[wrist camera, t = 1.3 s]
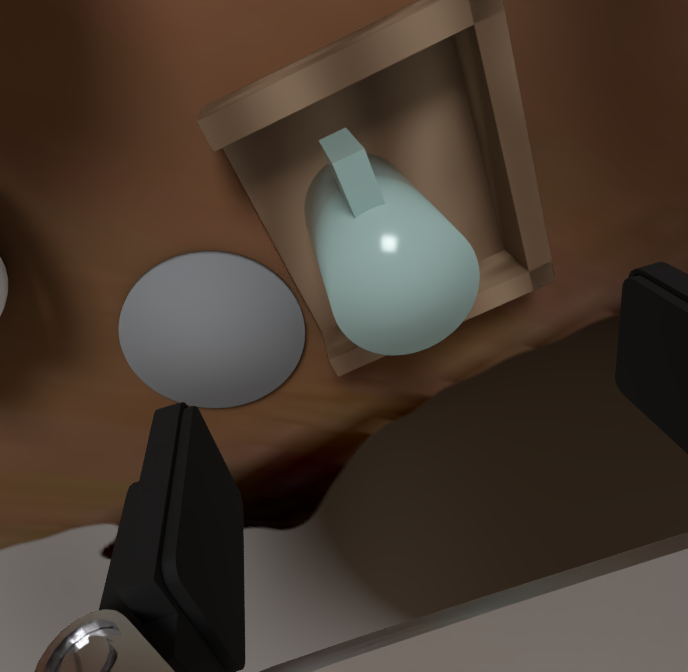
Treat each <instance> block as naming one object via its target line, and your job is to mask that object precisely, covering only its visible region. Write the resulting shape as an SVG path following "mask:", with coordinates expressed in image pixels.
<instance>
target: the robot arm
mask: <svg viewBox="0 0 688 672" xmlns="http://www.w3.org/2000/svg"><path fill="white" fill-rule="evenodd" d="M615 380H616V384H617V386H618V388H619V390H620V391H621V393H623V395H625V396H626V397H627V398H628V399H629V400H630V401H631V402H632V403H633V404H634V405H635V406H636V407H638V409H640V410H641V411H642V412H643V413H644V414H645V415H646V416H647V417H648V418H649V419H650V420H652V421H653V422H654V423H655V424H656V425H657V426H658V427H659V428H660V429H661V430H662V431H663V432H664V433H666V434H667V435H668V436H669V437H670V438H671V439H672V440H673V441H674V442H675V443H676V444H678V445H679V446H680V447H681V448H682V449H683V450H684V451H685V452H686V453H687V454H688V274H686V273H684V272H682V271H680V270H678V269H676V268H675V267H673V266H671V265H669V264H667V263H664V262H658V263H654V264H651V265H647V266H644V267H641V268H637V269H634V270H633V271H631V273H630V274H629V277H628V278H627V279H626V280H625V281H624V283H623V287H622V299H621V312H620V325H619V337H618V349H617V362H616V373H615ZM244 665H245V607H244V538H243V503H242V498H241V495H240V492H239V490H238V488H237V486H236V484H235V482H234V480H233V478H232V476H231V474H230V472H229V469H228V467H227V465H226V463H225V461H224V459H223V457H222V455H221V453H220V451H219V449H218V447H217V445H216V443H215V441H214V439H213V437H212V435H211V433H210V431H209V429H208V427H207V425H206V423H205V421H204V419H203V417H202V415H201V413H200V411H199V409H198V408H197V407H196V406H192V407H188V406H187V404H186V403H185V402H181V403H177V404H174V405H170V406H167V407H164V408H160V409H157V410H156V411H155V413H154V417H153V421H152V426H151V430H150V435H149V440H148V444H147V449H146V453H145V458H144V462H143V467H142V472H141V476H140V481H139V482H135V483H133V484H132V485H131V486H130V487H129V489H128V492H127V495H126V499H125V503H124V508H123V512H122V516H121V520H120V524H119V528H118V533H117V537H116V541H115V545H114V549H113V553H112V558H111V562H110V566H109V570H108V574H107V578H106V583H105V587H104V591H103V595H102V599H101V604H100V608H99V611H95V612H91V613H89V614H87V615H85V616H83V617H81V618H79V619H77V620H75V621H74V622H73V623H71V624H70V625H69V626H68V627H66V628H65V629H64V630H63V631H61V632H60V634H59V635H58V636H57V637H56V638H55V639H54V640H53V641H52V642H51V643H50V645H49V646H48V647H47V649H46V651H45V652H44V654H43V655H42V657H41V658H40V660H39V662H38V664H37V667H36V669H35V672H236V671H239V670H242V669H243V668H244ZM260 672H688V533H684V534H682V535H678V536H675V537H672V538H668V539H665V540H662V541H659V542H656V543H652V544H649V545H646V546H643V547H640V548H636V549H633V550H630V551H627V552H624V553H621V554H617V555H614V556H611V557H608V558H605V559H602V560H598V561H595V562H592V563H589V564H586V565H582V566H579V567H576V568H573V569H570V570H567V571H564V572H561V573H557V574H554V575H551V576H548V577H545V578H542V579H538V580H535V581H532V582H529V583H526V584H523V585H519V586H516V587H513V588H510V589H507V590H504V591H501V592H497V593H494V594H491V595H488V596H485V597H482V598H479V599H476V600H472V601H469V602H466V603H463V604H460V605H457V606H454V607H451V608H448V609H445V610H441V611H438V612H435V613H432V614H429V615H426V616H423V617H420V618H417V619H413V620H411V621H407V622H404V623H401V624H398V625H395V626H392V627H389V628H385V629H382V630H380V631H376V632H373V633H370V634H367V635H364V636H361V637H358V638H355V639H352V640H349V641H346V642H343V643H340V644H337V645H334V646H331V647H328V648H326V649H323V650H320V651H317V652H314V653H311V654H308V655H305V656H302V657H299V658H297V659H293V660H290V661H287V662H285V663H282V664H279V665H276V666H273V667H270V668H268V669H265V670H262V671H260Z"/></svg>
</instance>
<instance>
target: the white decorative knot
mask: <svg viewBox="0 0 688 672" xmlns="http://www.w3.org/2000/svg"><path fill="white" fill-rule="evenodd" d="M7 295H8V277H7V272H6V268H5V265H4V263H3V261H2V259H1V257H0V316H1V314H2V311H3V309H4V307H5V303H6V299H7Z"/></svg>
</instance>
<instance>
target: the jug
mask: <svg viewBox="0 0 688 672" xmlns="http://www.w3.org/2000/svg"><path fill="white" fill-rule="evenodd" d="M319 143H320V145H321V147H322V150H323V152H324V154H325V157H326V159H327V161H328V164H327V165H326V166H324V167H323V168H322V169H321V170H320V171H319V172H318V173H317V175H316V176H315V177H314V179H313V180H312V182H311V184H310V186H309V188H308V190H307V194H306V197H305V203H304V215H305V221H306V225H307V228H308V232H309V235H310V238H311V242H312V245H313V248H314V252H315V255H316V258H317V262H318V265H319V268H320V272H321V275H322V278H323V282H324V285H325V288H326V292H327V295H328V298H329V302H330V305H331V308H332V312H333V315H334V318H335V320H336V322H337V324H338V326H339V328H340V329H341V331H342V332H343V333H344V334H345V335H346V337H347V338H349V339H350V340H351V341H352V342H353V343H355V344H356V345H358V346H359V347H361V348H363V349H365V350H368V351H371V352H374V353H378V354H383V355H405V354H411V353H415V352H419V351H422V350H424V349H427V348H429V347H431V346H433V345H435V344H437V343H439V342H440V341H442V340H443V339H445V338H446V337H447V336H449V335H450V334H451V333H452V332H453V331H454V330H456V329H457V328H458V327H459V325H460V324H461V323H462V322H463V321H464V319H465V318H466V316H467V315H468V313H469V312H470V310H471V308H472V306H473V304H474V302H475V299H476V296H477V293H478V288H479V280H480V273H479V265H478V260H477V257H476V255H475V252H474V250H473V248H472V247H471V245H470V243H469V242H468V241H467V240H466V238H465V237H464V236H463V235H462V234H461V233H460V232H459V231H458V230H457V229H456V228H455V227H454V226H453V225H452V224H451V223H450V222H449V221H448V220H447V219H446V218H445V217H444V216H443V215H442V214H441V213H440V212H439V211H438V210H437V209H436V208H435V207H434V206H433V205H432V204H431V203H430V202H429V201H428V199H427V198H426V197H425V196H424V195H423V194H422V193H421V192H420V191H419V190H418V189H417V188H416V187H415V186H414V185H413V184H412V183H411V182H410V181H409V180H408V179H407V178H406V177H405V176H404V175H403V174H402V173H401V172H400V171H399V170H398V169H397V168H396V167H395V166H394V165H393V164H392V163H390V162H389V161H387V160H386V159H384V158H382V157H380V156H377V155H373V154H368V153H366V151H365V149H364V147H363V146H362V145H361V144H360V143H359V142H358V141H357V140H356V138H355V137H354V136H353V135H352V134H351V133H350V132H349V131H348V129H347V128H346V127H345V128H343V129H341V130H339V131H337V132H335V133H333V134H331V135H329V136H327V137H325V138H323V139H321V140H319Z"/></svg>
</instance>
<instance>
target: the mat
mask: <svg viewBox="0 0 688 672" xmlns="http://www.w3.org/2000/svg"><path fill="white" fill-rule="evenodd" d="M119 339H120V344H121V348H122V351H123V353H124V356H125V358H126V360H127V362H128V364H129V365H130V367H131V368H132V370H133V371H134V372H135V374H136V375H137V376H138V377H139V378H140V379H141V380H142V381H143V382H144V383H145V384H147V385H148V386H149V387H150V388H152V389H153V390H155V391H156V392H158V393H159V394H161V395H163V396H165V397H167V398H169V399H171V400H174V401H177V402H179V403H181V402H185V403H186V404H187V405H190V406H196V407H203V408H227V407H233V406H239V405H243V404H246V403H249V402H252V401H255V400H257V399H259V398H261V397H263V396H265V395H267V394H269V393H270V392H272V391H273V390H275V389H276V388H277V387H279V386H280V385H281V384H282V383H283V382H284V381H285V380H286V379H287V378H288V377H289V376H290V375H291V373H292V372H293V370H294V369H295V367H296V366H297V364H298V362H299V360H300V357H301V354H302V352H303V348H304V342H305V325H304V319H303V314H302V311H301V307H300V305H299V303H298V301H297V298H296V296H295V295H294V293H293V292H292V290H291V289H290V287H289V286H288V285H287V284H286V283H285V282H284V280H283V279H282V278H280V277H279V276H278V275H277V274H276V273H275V272H273V271H272V270H271V269H269V268H268V267H266V266H265V265H263V264H261V263H259V262H257V261H255V260H253V259H250V258H247V257H245V256H242V255H238V254H234V253H229V252H222V251H198V252H190V253H186V254H182V255H178V256H175V257H172V258H170V259H167V260H165V261H163V262H161V263H159V264H158V265H156V266H154V267H153V268H151V269H150V270H149V271H148V272H146V273H145V274H144V275H143V276H142V277H141V278H140V279H139V280H138V281H137V282H136V283H135V285H134V286H133V288H132V289H131V290H130V292H129V294H128V296H127V298H126V300H125V302H124V305H123V308H122V311H121V314H120V320H119Z"/></svg>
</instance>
